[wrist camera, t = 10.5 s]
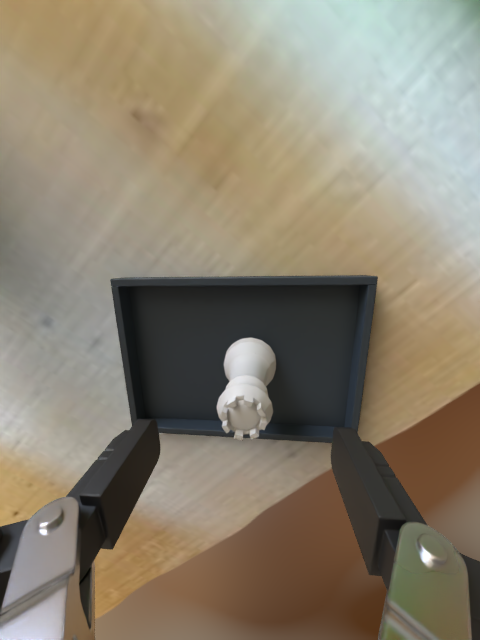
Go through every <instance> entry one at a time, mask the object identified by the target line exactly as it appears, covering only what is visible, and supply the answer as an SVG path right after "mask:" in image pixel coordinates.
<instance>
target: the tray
mask: <svg viewBox="0 0 480 640" xmlns="http://www.w3.org/2000/svg"><path fill="white" fill-rule="evenodd" d="M377 279H378V277H377V276H367V275H351V276H246V277H142V278H116V279H111V286H112V287H111V288H112V294H113V301H114V308H115V314H116V321H117V328H118V334H119V341H120V348H121V354H122V361H123V368H124V374H125V381H126V388H127V394H128V401H129V408H130V414H131V421H132V426H133V425H134V423H135V422H136V421H137V420H138V419H155V420H156V421H157V425H158V432H159V433H171V434H188V435H205V436H222V437H234V434H235V432H234V431H232V430H231V429H230V431H229V432H228V433H226V432H225V431H224V429H223V428H222V423H223V422H222V421H221V419H220V418H219V416H218V412H217V403H218V399H219V397H220V396H221V394H222V393H223V392H224V391H225V389H226V386H227V384H228V383H229V382H230V381H229V380H228V378H227V377H226V374H225V369H224V360H225V356H226V352H227V350H228V349H229V347H230V346H231V345H232V344H233V343H235V342H236V341H238V340H240V339H244V338H255V339H259V340H262V341H263V342H265V343H266V344H268V345H269V346H270V347H271V349H272V351H273V352H274V354H275V359H276V370H275V374H274V377H273V379H272V380H271V382H270V383H269V384H268V385H267V386H266V388H267V391H268V397H269V399H270V400H271V402H272V408H273V414H272V417H271V420H270V422H269V423H268V424H267V425H266V427H265V430H262V429H261V430H259V437H257V439H274V440H291V441H308V442H326V443H332V439H333V430H334V427H350V428H354V429H355V430H356V432H357V433H358V425H359V418H360V410H361V402H362V395H363V387H364V379H365V372H366V364H367V356H368V349H369V341H370V333H371V326H372V318H373V310H374V303H375V295H376V287H377ZM243 438H250V434H243Z"/></svg>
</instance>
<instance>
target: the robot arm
mask: <svg viewBox="0 0 480 640" xmlns="http://www.w3.org/2000/svg"><path fill="white" fill-rule="evenodd" d="M159 455H160V440H159V432H158V425H157V421H156V420H155V419H138V420H137V421H136V422H135V423H134V425H133V426H132V427H131V428H130V430H125V431H124V432H122V433H121V434H119V435H118V436H117V437H115V438H114V439H113V440H112V441H111V443H110V444H109V445H108V446H107V447H106V449H105V451H103V452H102V454H101V455H100V456H99V457H98V460H96V461H95V462H94V463H93V464H92V466H91V467H90V468H89V469H88V471H87V472H86V473H85V474H84V475H83V477H82V478H81V479H80V480H79V481H78V483H77V484H76V485H75V486H74V488H73V489H72V490H71V491H70V492H69V494H68V495H67V496H66V497H63V498H59V499H56V500H54V501H52V502H50V503H48V504H47V505H45V506H44V507H42V508H41V509H40V510H39V511H37V512H36V513H35V514H34V515H33V516H32V517H31V518H30V519H29V520H25V521H21V522H17V523H13V524H9V525H5V526H2V527H0V640H95V564H94V559H95V557H96V556H97V554H98V552H99V550H100V548H102V549H113V548H114V546H115V544H116V542H117V540H118V538H119V536H120V534H121V532H122V530H123V528H124V526H125V524H126V522H127V520H128V518H129V516H130V514H131V513H132V511H133V509H134V507H135V505H136V503H137V501H138V499H139V497H140V495H141V493H142V491H143V489H144V487H145V485H146V483H147V481H148V479H149V477H150V475H151V473H152V471H153V469H154V467H155V466H156V464H157V461H158V459H159ZM331 464H332V469H333V473H334V476H335V479H336V482H337V484H338V487H339V490H340V493H341V495H342V498H343V502H344V504H345V507H346V510H347V513H348V516H349V519H350V521H351V524H352V527H353V530H354V533H355V536H356V539H357V541H358V544H359V547H360V549H361V553H362V555H363V559H364V561H365V564H366V567H367V570H368V572H369V575H376V576H382V578H383V581H384V584H385V586H386V588H387V594H386V599H385V605H384V609H383V615H382V621H381V626H380V631H379V637H378V640H480V562H479V561H477V560H474V559H472V558H469V557H467V556H465V555H463V554H461V553H459V552H458V551H457V549H456V548H455V547H454V546H453V544H452V543H451V542H450V541H449V540H448V539H446V538H445V537H444V536H443V535H442V534H440V533H439V532H438V531H436V530H435V529H433V528H431V527H429V526H428V525H427V524H426V522H425V521H424V519H423V518H422V516H421V515H420V513H419V512H418V510H417V509H416V507H415V505H414V504H413V502H412V501H411V499H410V497H409V496H408V494H407V493H406V491H405V490H404V488H403V486H402V485H401V483H400V482H399V480H398V479H397V478H396V477H395V474H394V472H393V471H392V469H391V468H390V467H389V465H388V463H387V461H386V460H385V458H384V457H383V455H382V453H381V452H380V451H379V450H378V449H377V448H375V447H374V446H373V445H372V444H371V443H370V442H364V441H361V439H360V437H359V436H358V434H357V432H356V430H355V429H354V428H350V427H334V430H333V439H332V450H331Z"/></svg>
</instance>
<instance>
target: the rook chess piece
mask: <svg viewBox="0 0 480 640" xmlns="http://www.w3.org/2000/svg"><path fill="white" fill-rule="evenodd" d="M224 369H225V374H226V377H227V378H228V380H229V381H230V382H229V383H228V384H227V386H226V389H225V391H224V392H223V393H222V394H221V396H220V397H219V399H218V403H217V412H218V416H219V418H220V419H221V421H222V422H223V423H222V428H223V429H224V431H225V432H226V433H228V432H229V431H230V429H231V430H232V431H234V432H235V434H234V438H235V439H238V440H242V441H243V434H250V438H251V440H252V439H254V438H257V437H259V430H261V429H262V430H265V427H266V425H267V424H268V423H269V422H270V420H271V417H272V414H273V408H272V402H271V400H270V399H269V397H268V391H267V388H266V386H267V385H268V384H269V383H270V382H271V380H272V379H273V377H274V374H275V370H276V359H275V354H274V352H273V351H272V349H271V347H270V346H269V345H268V344H266V343H265V342H263V341H262V340H259V339H255V338H244V339H240V340H238V341H236V342H235V343H233V344H232V345H231V346H230V347H229V349H228V350H227V352H226V356H225V360H224Z"/></svg>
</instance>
